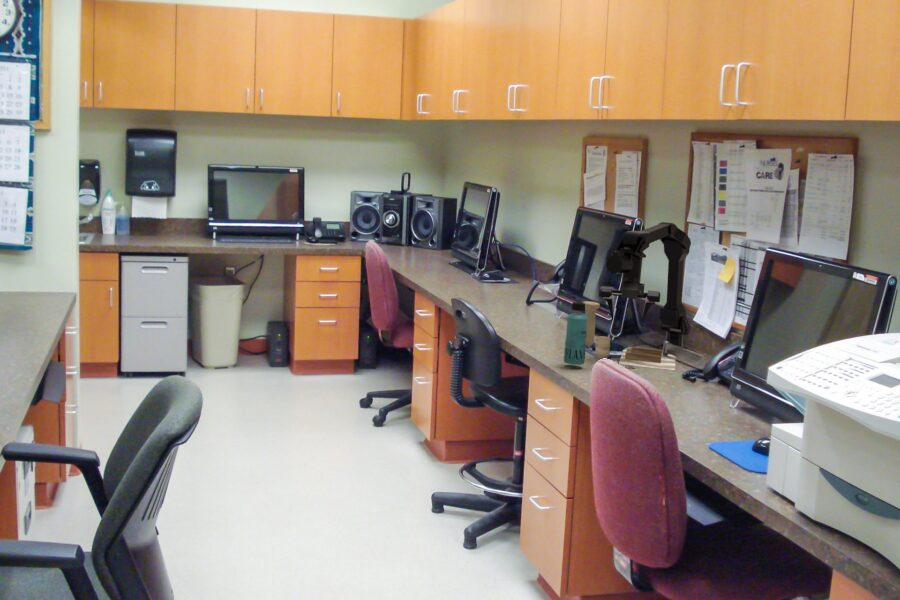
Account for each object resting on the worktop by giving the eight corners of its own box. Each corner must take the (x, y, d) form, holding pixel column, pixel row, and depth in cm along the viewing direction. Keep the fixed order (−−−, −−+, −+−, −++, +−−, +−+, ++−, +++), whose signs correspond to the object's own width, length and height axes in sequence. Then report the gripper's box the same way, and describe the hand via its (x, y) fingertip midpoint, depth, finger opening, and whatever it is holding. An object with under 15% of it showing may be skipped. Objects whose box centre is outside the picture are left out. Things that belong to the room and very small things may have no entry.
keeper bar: (661, 354, 317) (662, 340, 316) (666, 354, 317) (667, 340, 317) (699, 369, 298) (700, 355, 297) (704, 369, 299) (705, 355, 298)
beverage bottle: (560, 367, 295) (565, 302, 292) (566, 363, 301) (571, 299, 298) (581, 370, 293) (586, 305, 290) (586, 366, 299) (592, 302, 296)
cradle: (623, 352, 322) (623, 343, 322) (675, 358, 318) (676, 349, 318) (618, 366, 301) (619, 357, 300) (674, 373, 297) (675, 363, 297)
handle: (588, 344, 332) (592, 301, 329) (598, 348, 326) (602, 304, 323) (576, 345, 330) (580, 301, 327) (586, 349, 324) (589, 304, 321)
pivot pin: (595, 355, 316) (597, 335, 314) (609, 356, 315) (611, 337, 313) (594, 358, 311) (596, 338, 310) (608, 359, 310) (609, 339, 309)
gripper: (600, 272, 299) (595, 322, 302) (662, 278, 295) (657, 328, 298) (602, 268, 310) (597, 316, 312) (662, 273, 306) (657, 322, 309)
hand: (627, 321), depth 308 cm, fingers open, 9 cm apart
